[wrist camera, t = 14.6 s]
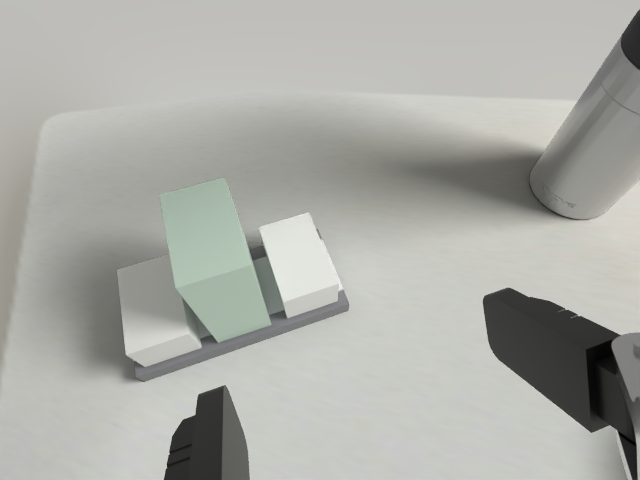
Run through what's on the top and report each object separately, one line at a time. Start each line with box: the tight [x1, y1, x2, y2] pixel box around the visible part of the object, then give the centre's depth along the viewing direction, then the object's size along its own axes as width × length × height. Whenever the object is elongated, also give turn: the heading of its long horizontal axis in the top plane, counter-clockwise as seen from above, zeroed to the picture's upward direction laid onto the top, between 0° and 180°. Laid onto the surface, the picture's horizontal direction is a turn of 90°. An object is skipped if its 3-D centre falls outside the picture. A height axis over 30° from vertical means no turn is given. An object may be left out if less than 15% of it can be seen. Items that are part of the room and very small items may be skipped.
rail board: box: [117, 212, 349, 382], centre depth 38 cm, size 20×9×6 cm, turn 110°
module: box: [159, 177, 272, 343], centre depth 33 cm, size 5×8×12 cm, turn 19°
